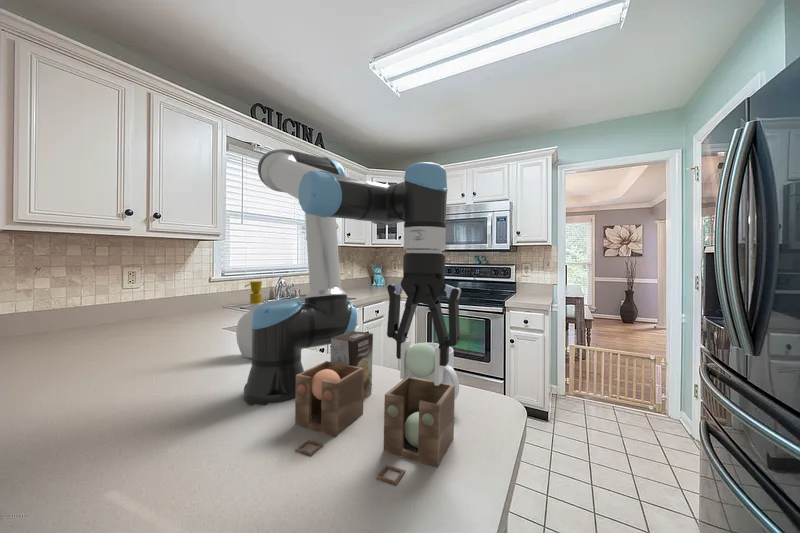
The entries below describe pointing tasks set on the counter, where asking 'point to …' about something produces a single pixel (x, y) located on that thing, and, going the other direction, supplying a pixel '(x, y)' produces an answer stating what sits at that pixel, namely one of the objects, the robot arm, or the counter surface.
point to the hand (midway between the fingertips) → (421, 379)
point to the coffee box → (355, 354)
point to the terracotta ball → (317, 381)
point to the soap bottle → (248, 321)
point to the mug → (444, 371)
